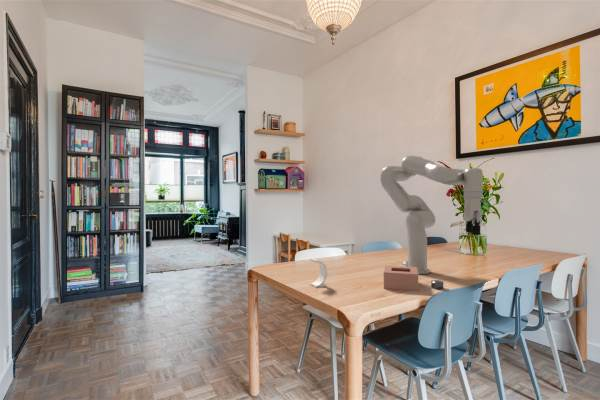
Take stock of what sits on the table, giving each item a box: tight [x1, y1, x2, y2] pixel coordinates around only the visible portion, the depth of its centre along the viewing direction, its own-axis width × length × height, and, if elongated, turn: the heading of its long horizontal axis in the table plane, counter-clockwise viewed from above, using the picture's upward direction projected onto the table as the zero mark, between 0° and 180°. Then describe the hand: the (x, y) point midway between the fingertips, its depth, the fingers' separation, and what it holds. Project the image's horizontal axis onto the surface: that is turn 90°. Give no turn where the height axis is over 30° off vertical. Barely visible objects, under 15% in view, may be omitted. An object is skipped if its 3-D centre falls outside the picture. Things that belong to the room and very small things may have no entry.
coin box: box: [383, 265, 419, 292], centre depth 144 cm, size 14×14×7 cm
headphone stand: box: [309, 258, 328, 289], centre depth 146 cm, size 5×6×12 cm
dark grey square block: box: [430, 279, 444, 291], centre depth 140 cm, size 5×5×3 cm
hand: (472, 233), depth 147 cm, fingers open, 9 cm apart
